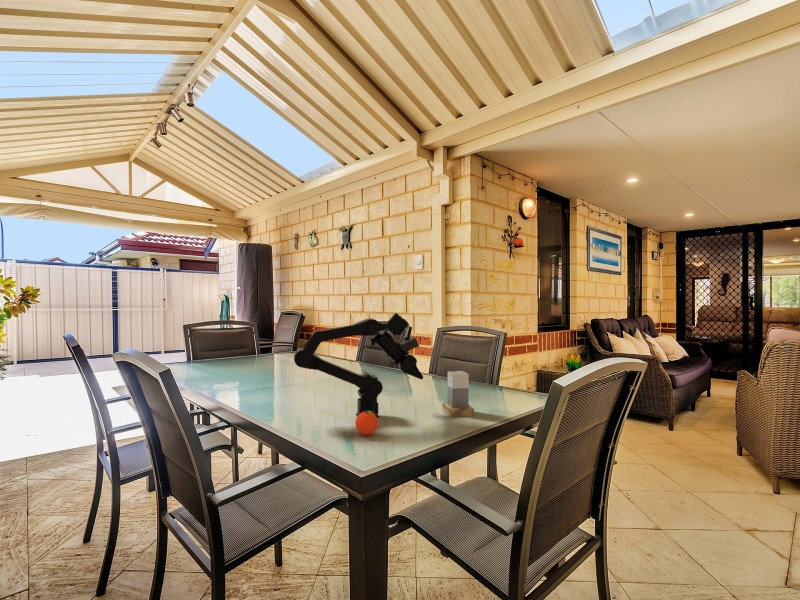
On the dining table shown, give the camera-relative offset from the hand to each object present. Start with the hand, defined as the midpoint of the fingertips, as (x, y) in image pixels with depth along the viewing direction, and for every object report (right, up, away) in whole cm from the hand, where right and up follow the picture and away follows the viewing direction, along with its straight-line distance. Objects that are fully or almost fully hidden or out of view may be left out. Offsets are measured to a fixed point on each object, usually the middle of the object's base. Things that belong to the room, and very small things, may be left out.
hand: (419, 376), depth 141 cm
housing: (+14, -11, +2) cm, 18 cm away
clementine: (-17, -14, -22) cm, 31 cm away
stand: (+14, -14, +2) cm, 20 cm away
